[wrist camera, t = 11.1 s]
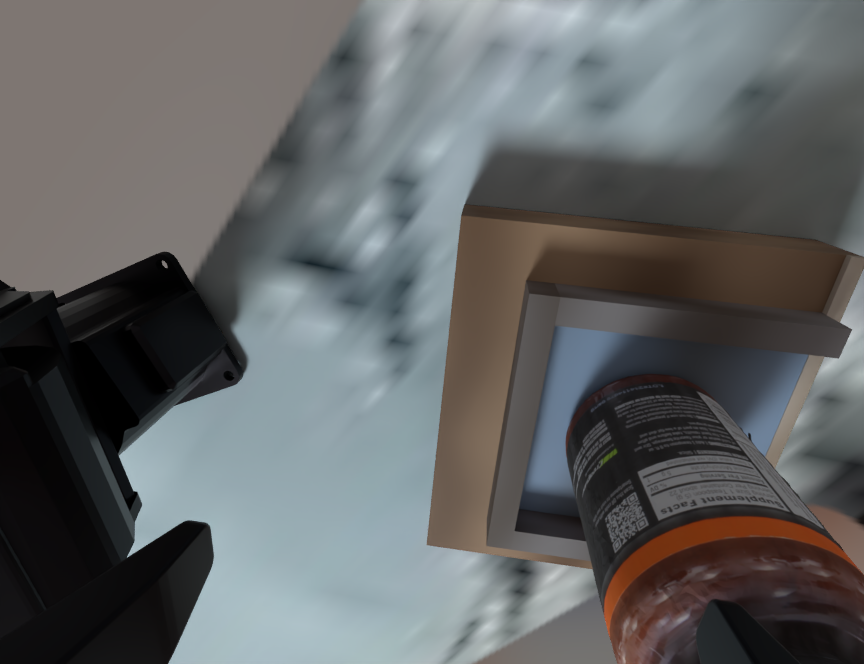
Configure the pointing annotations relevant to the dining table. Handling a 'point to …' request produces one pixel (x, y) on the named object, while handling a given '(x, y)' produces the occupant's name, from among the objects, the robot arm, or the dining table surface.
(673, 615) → the supplement bottle
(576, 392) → the tan wooden shallow tray
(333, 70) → the dining table surface
